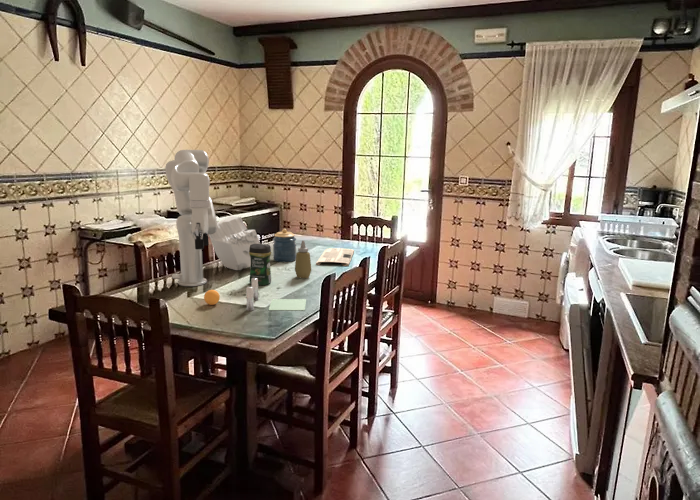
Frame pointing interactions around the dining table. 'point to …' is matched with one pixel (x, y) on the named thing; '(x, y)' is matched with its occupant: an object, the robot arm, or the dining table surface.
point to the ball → (211, 297)
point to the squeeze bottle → (303, 262)
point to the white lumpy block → (233, 242)
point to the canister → (284, 246)
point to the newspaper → (336, 256)
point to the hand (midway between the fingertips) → (202, 247)
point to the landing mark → (287, 304)
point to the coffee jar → (260, 263)
